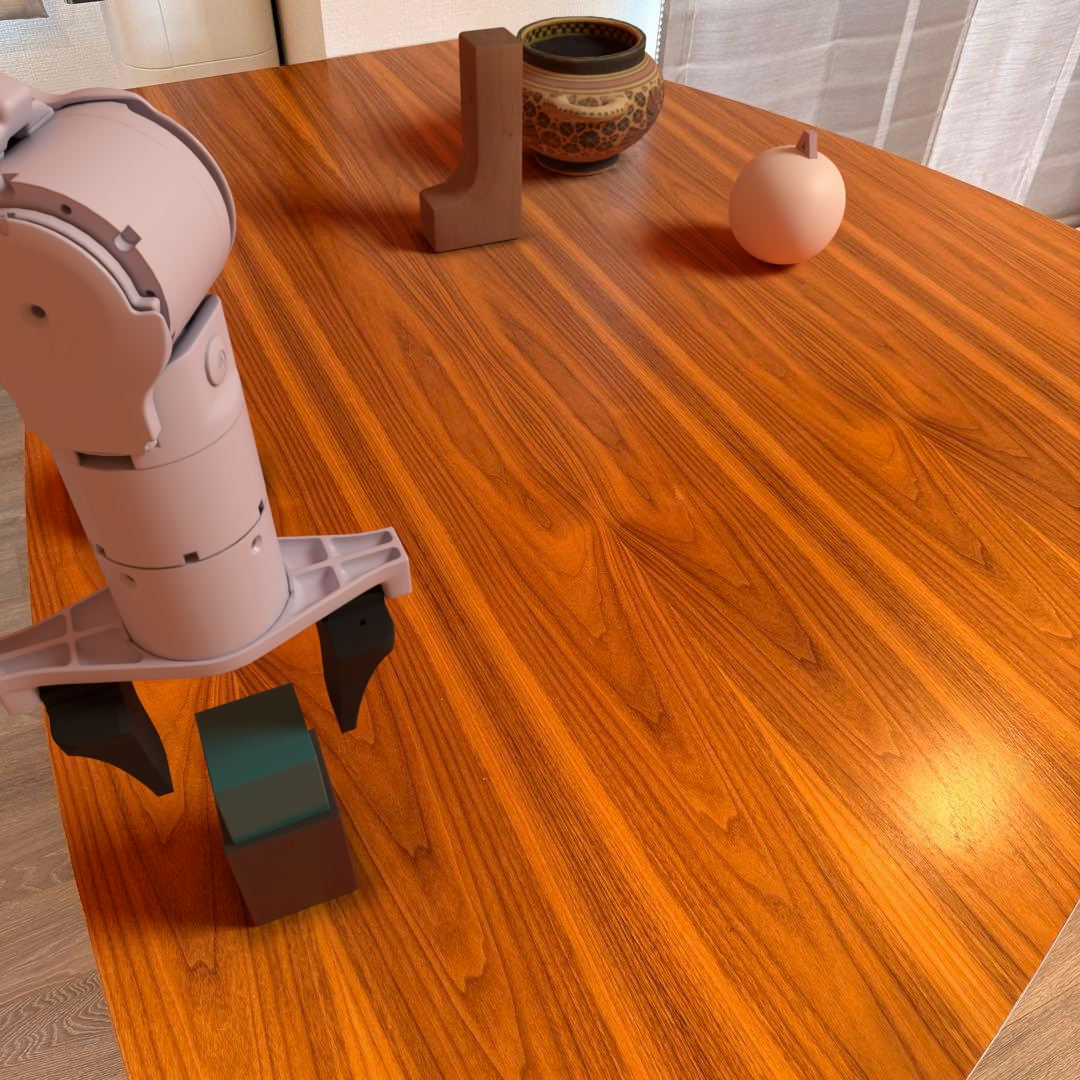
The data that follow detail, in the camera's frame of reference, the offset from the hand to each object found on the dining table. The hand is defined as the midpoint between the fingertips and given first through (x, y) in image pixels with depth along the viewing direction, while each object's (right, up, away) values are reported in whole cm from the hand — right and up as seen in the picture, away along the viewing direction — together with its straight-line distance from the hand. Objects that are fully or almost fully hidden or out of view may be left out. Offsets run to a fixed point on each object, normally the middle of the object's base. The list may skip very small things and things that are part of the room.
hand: (255, 743), depth 41 cm
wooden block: (+5, +38, +54) cm, 66 cm away
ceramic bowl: (+16, +51, +67) cm, 86 cm away
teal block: (0, -2, +2) cm, 3 cm away
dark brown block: (0, -7, +7) cm, 10 cm away
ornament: (+35, +36, +52) cm, 72 cm away
